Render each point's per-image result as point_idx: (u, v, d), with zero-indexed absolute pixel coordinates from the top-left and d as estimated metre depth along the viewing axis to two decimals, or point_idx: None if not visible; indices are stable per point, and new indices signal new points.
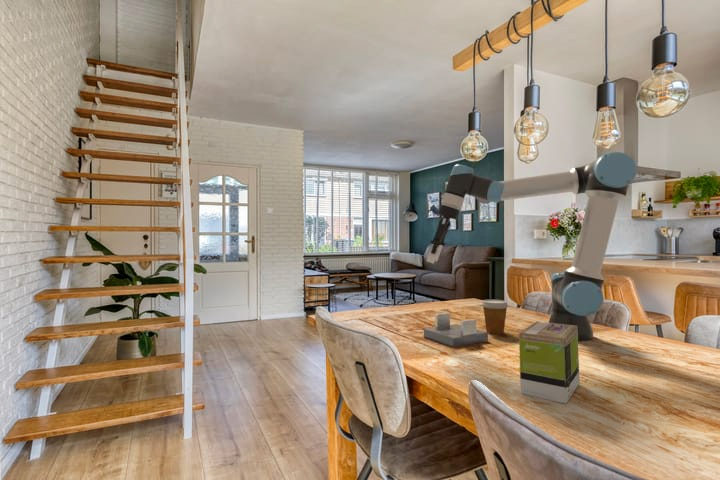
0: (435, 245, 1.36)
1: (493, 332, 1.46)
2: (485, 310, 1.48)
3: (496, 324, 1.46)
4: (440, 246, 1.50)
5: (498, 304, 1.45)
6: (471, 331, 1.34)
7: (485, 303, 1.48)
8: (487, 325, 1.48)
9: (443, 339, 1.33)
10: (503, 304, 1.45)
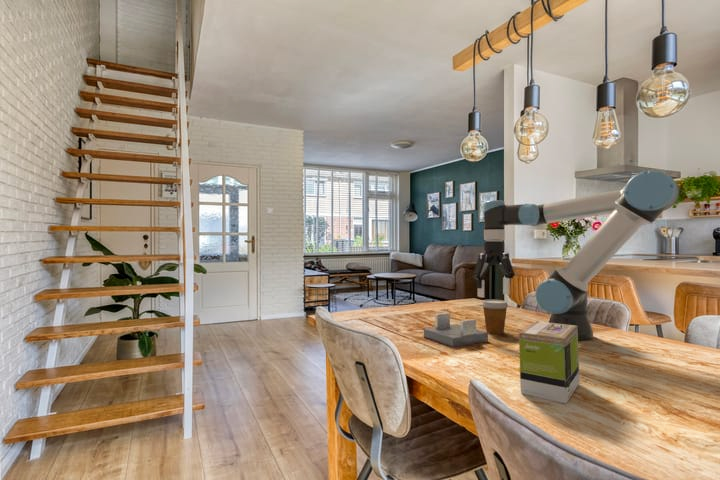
0: (477, 280, 1.45)
1: (493, 332, 1.46)
2: (485, 310, 1.48)
3: (496, 324, 1.46)
4: (507, 279, 1.52)
5: (498, 304, 1.45)
6: (471, 331, 1.34)
7: (485, 303, 1.48)
8: (487, 325, 1.48)
9: (443, 339, 1.33)
10: (503, 304, 1.45)
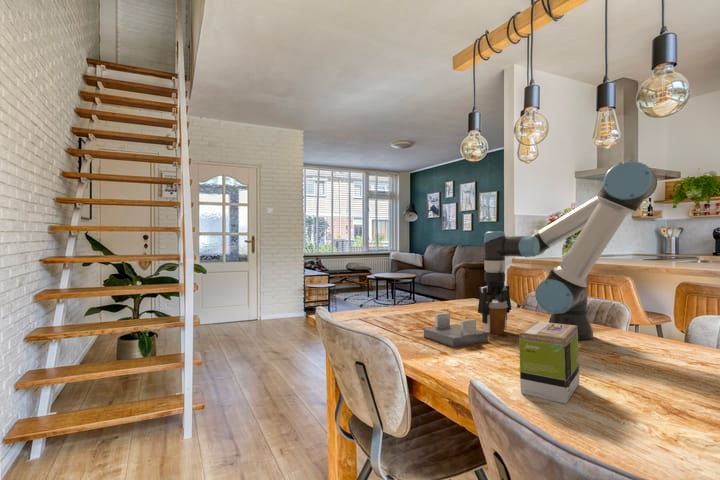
0: (483, 315, 1.46)
1: (493, 332, 1.46)
2: None
3: (496, 324, 1.46)
4: None
5: (498, 304, 1.45)
6: (471, 331, 1.34)
7: None
8: None
9: (443, 339, 1.33)
10: (503, 304, 1.45)
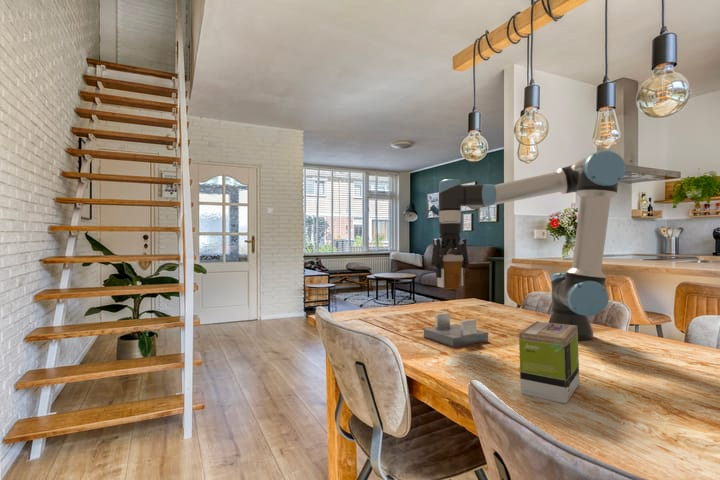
0: (437, 269, 1.36)
1: (447, 287, 1.36)
2: None
3: (450, 278, 1.36)
4: None
5: (452, 256, 1.35)
6: (471, 331, 1.34)
7: None
8: None
9: (443, 339, 1.33)
10: (458, 256, 1.35)
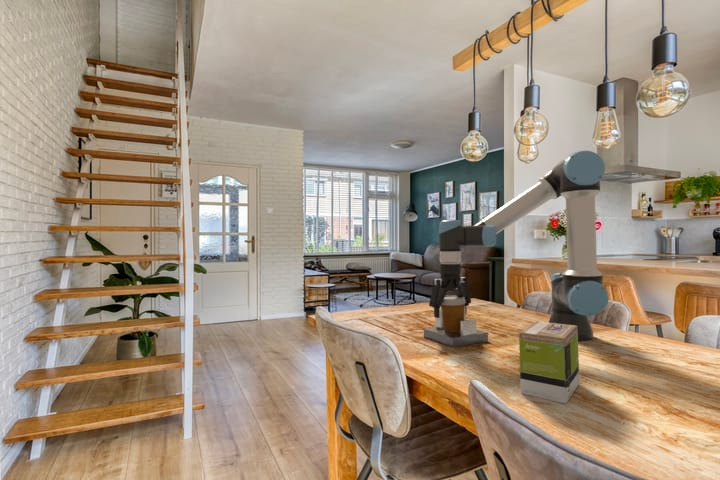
0: (435, 309, 1.36)
1: (450, 330, 1.37)
2: (442, 307, 1.38)
3: (453, 322, 1.36)
4: None
5: (454, 300, 1.35)
6: (471, 331, 1.34)
7: None
8: (444, 323, 1.38)
9: (443, 339, 1.33)
10: (460, 300, 1.35)
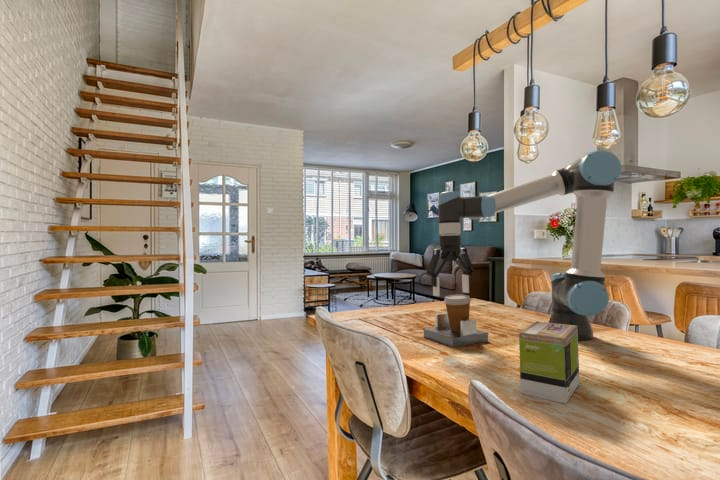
0: (432, 278, 1.35)
1: (457, 330, 1.37)
2: (447, 307, 1.39)
3: (459, 321, 1.37)
4: (465, 276, 1.41)
5: (460, 300, 1.36)
6: (471, 331, 1.34)
7: (447, 300, 1.38)
8: (450, 323, 1.39)
9: (443, 339, 1.33)
10: (465, 299, 1.36)
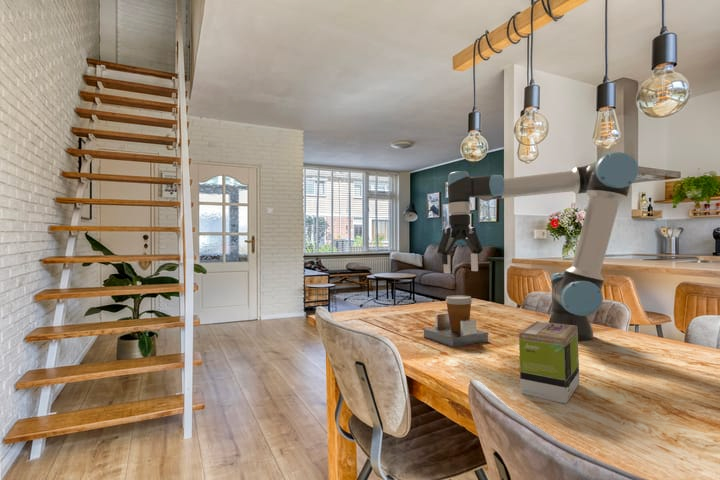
0: (443, 255, 1.38)
1: (457, 330, 1.37)
2: (448, 306, 1.39)
3: (460, 321, 1.37)
4: (474, 255, 1.44)
5: (461, 300, 1.36)
6: (471, 331, 1.34)
7: (448, 299, 1.39)
8: (451, 322, 1.39)
9: (443, 339, 1.33)
10: (466, 300, 1.36)
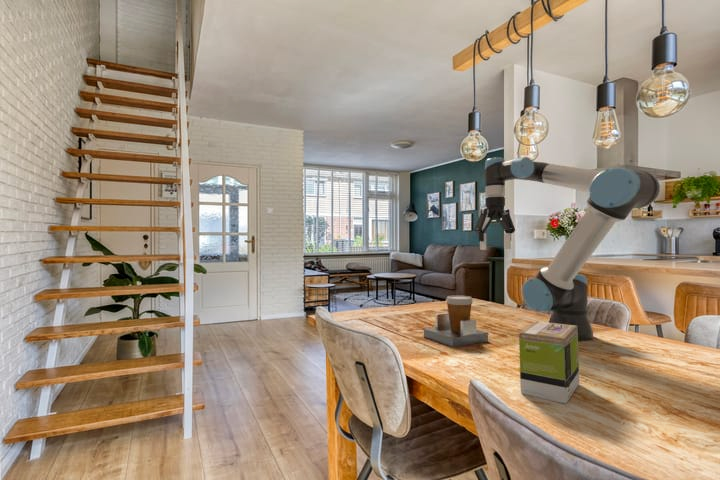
0: (480, 233, 1.52)
1: (457, 330, 1.37)
2: (449, 307, 1.39)
3: (460, 321, 1.37)
4: (508, 234, 1.59)
5: (462, 300, 1.36)
6: (471, 331, 1.34)
7: (449, 299, 1.39)
8: (451, 323, 1.39)
9: (443, 339, 1.33)
10: (467, 300, 1.36)
